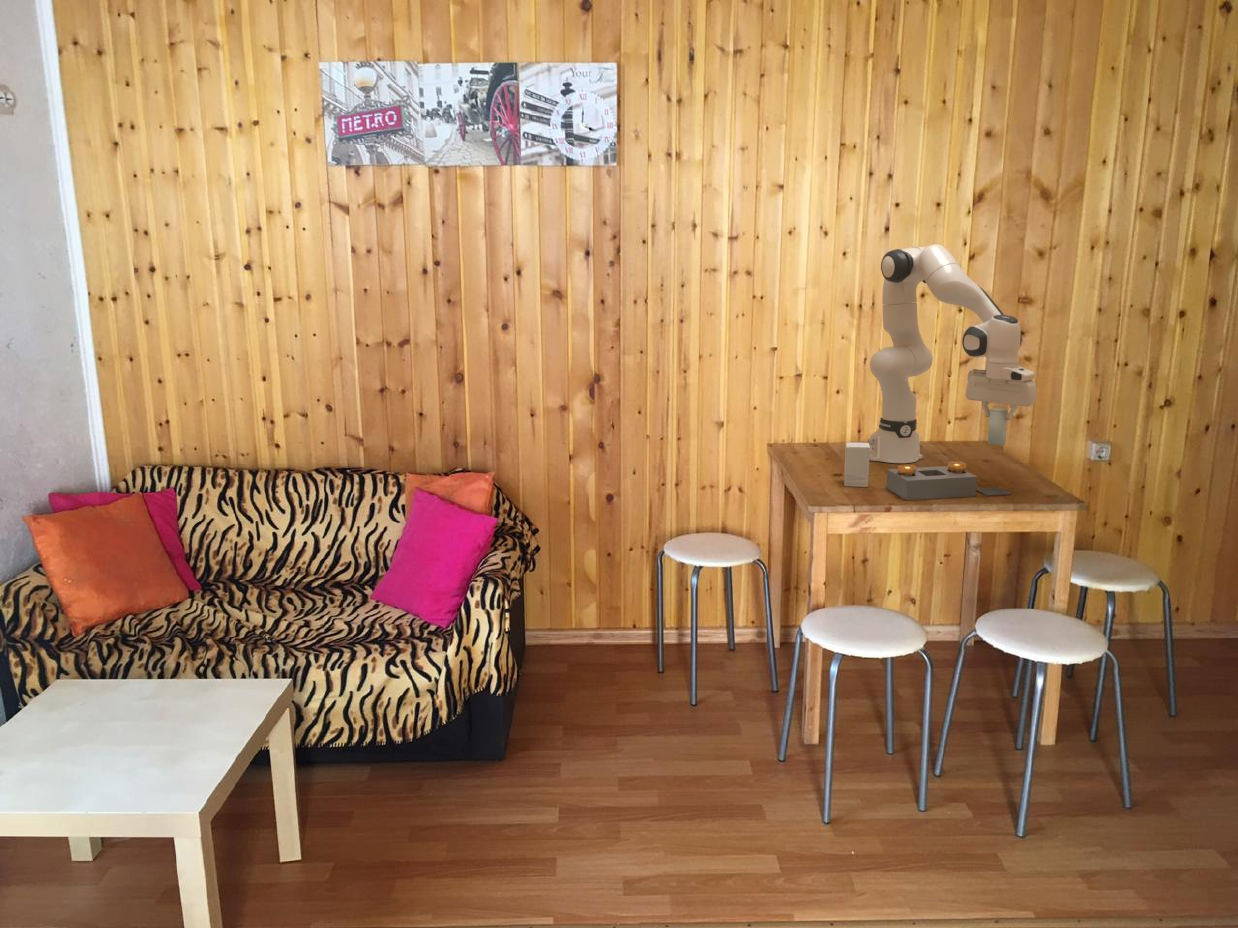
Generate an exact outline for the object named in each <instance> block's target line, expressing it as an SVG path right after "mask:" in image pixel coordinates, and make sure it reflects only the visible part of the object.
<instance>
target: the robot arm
mask: <svg viewBox="0 0 1238 928" xmlns="http://www.w3.org/2000/svg"><path fill="white" fill-rule="evenodd" d="M880 271H881V274H882V277H883V279H884V282H883V286H882V296H881V297H882V324H883V325H882V326H883V329H884V331H885V332H887V334H888V335H889V336H890V339H891V341H892V345H893V346H889V347H888V346H887V347H883V348H882V349H880V350H878V351H875V352H874V353H873V355H872V356H871V358H870V360H869V368H870V369H869V370H870V372H871V373H872V375H873V376H874V377H875V378H876V379H877V381H878V383H879V386H880V390H881V396H882V399H881V400H882V401H881V404H882V405H881V406H882V407H881V410H882V411H881V417H879V423H878V428H877V430H875V432H874V433H872V435H870V437H869V438H868V439H867V443H869V446H870V458H869V461H872V462H883V463H888V464H889V463H890V464H911V463H915V462H918V461H919V460H921V459H923V458H924V454H922V453H920V450H921V449H920V435H919V433H918V432H917V426H918V425H917V424H918V423H917V422H918V421H917V418H916V416H917V415H916V413H917V396H916V394H915V392H914V391H912V390H911V387H910V381H909V378H911V377H917V376H920V375H922V374H924V373H926V372H927V371H928V370H929V369H931V367H932V364H933V360H934V359H933V358H934V356H933V354H932V352H931V350H930V349H929V347H927V346H926V344H925V342H924V340H923V338H922V335H921V332H920V329H919V323H918V321H919V319H918V304H917V303H918V301H917V299H918V298H917V289H918V285H919V284H920V283H921V282H922V283H923V284H926V286H927V287H928V289H929V291H930V292H931V294H932V295H933V296H934V297H935V298H936V299H937V300H938V301H939V302H941V303H945V304H947V305H954V306H958V307H962V308H965V309H968V310H970V311H972V312H974V313H975V314H976V316H978V317H979V319H980V321H982V323H978V324H976V325H972V326H969V327H967V329H966V330H965V331H964V333H963V335H962V340H961V344H962V349H963V350H964V352H965V353H966V355H968V356H969V357H972V358H973V357H974V358H984V357H985V358H986V363H985V369H978V368H977V369H976V368H974V369H972V370H970V371H968V373H967V383H966V387H965V388H966V389H965V397H966V399H967V400H968V401H975V402H981V404H980V405H981V407H982V409H983V411H984V417H986V418H989V415H990V408H989V405H990V404H991V403H994V404H1000V405H1009V409H1010V410H1009V411H1008V413H1006V414H1005V416H1006V417H1005V419H1007V421H1010V420H1011V421H1012V420H1013V418H1014V417H1013V416H1014V413H1015V412H1016V410H1017V409H1018V407H1024V408H1025V407H1026V408H1029V407H1032V406H1034V405H1035V404H1036V401H1037V386H1036V383H1035V381H1034V380H1033V379H1035V376H1036V374H1035V372H1034V371H1032V370H1030V369H1028V368H1026V367H1023V366H1021V365H1019V355H1018V354H1019V350H1020V348H1021V346H1022V342H1023V335H1022V332H1021V331H1022V330H1021V324H1020V321H1019V319H1017V317H1015V316H1012V315H1007V314H1004V313H1003V311H1002V309H1000V307H998V305H997V304H996V302H994V300H993V299H992V298H991V297H990V295H989V294H988V293H987V292H986V291H985V290H984V289H983V288H982V287H981V286H980V285H979V284H977V283H976V282H974V280H972V279H971V278H970V277H969V276H968V275H967V273H966V272H965V271H964V270H963V269H962V267H961V266H960V264H959V262H958V261H957V259H956V258H955V257H954V256H953V254H952V253H951V252H950V251H949V250H948V249H947V248H946V247H945V246H943V245H941V244H938V243H936V244H935V243H934V244H930V245H928V246H912V247H907V248H906V247H905V248H902V249H900V248H896V249H893V250H892V249H891V250H889V251H887V252H885V254H884V256H883V257H882V259H881V262H880Z"/></svg>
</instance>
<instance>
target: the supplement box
mask: <svg viewBox="0 0 1238 928" xmlns="http://www.w3.org/2000/svg"><path fill="white" fill-rule="evenodd" d="M869 458H870V445H869V443H868V442H856V441H855V442H845V448H844V467H843V468H844V469H843V470H844V472H843V485H844V487H854V488H857V487H858V488H868V487H869V478H870V477H869V476H870V474H869V473H870V459H869Z"/></svg>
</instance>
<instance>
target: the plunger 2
mask: <svg viewBox="0 0 1238 928" xmlns="http://www.w3.org/2000/svg"><path fill="white" fill-rule="evenodd" d="M947 466H948V470H949V471H951V473H953V474H956V473H962V472H963V471H967V470H966V469H967V462H964V461H957V460H956V461H955V460H952V461H948V462H947Z"/></svg>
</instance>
